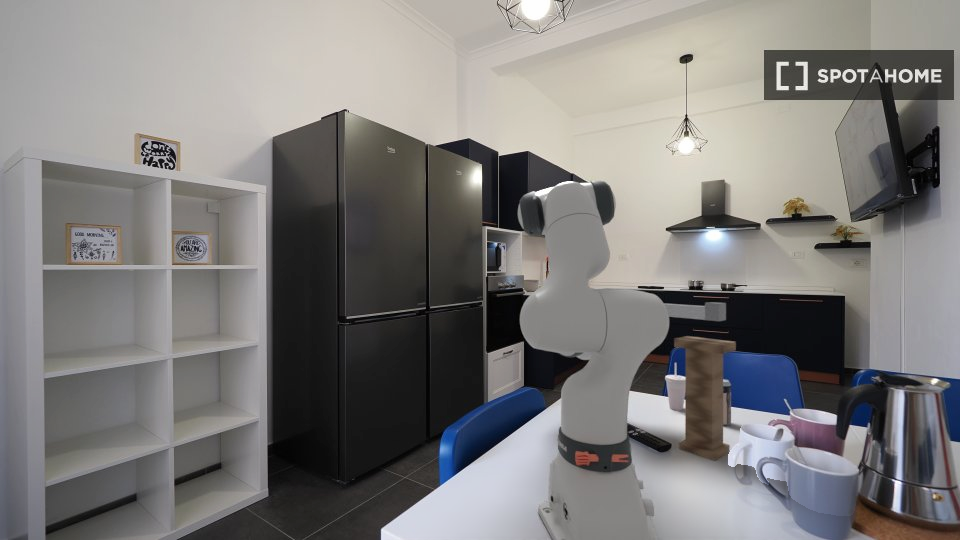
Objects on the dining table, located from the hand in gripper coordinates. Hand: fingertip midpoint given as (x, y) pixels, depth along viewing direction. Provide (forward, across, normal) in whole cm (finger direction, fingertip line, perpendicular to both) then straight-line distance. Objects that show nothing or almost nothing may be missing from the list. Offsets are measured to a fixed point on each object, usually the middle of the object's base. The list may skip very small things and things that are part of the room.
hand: (660, 307), depth 106 cm
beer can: (-11, +22, +32) cm, 40 cm away
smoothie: (-23, +25, +25) cm, 42 cm away
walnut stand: (-7, 0, +34) cm, 35 cm away
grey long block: (+4, 0, +5) cm, 6 cm away
